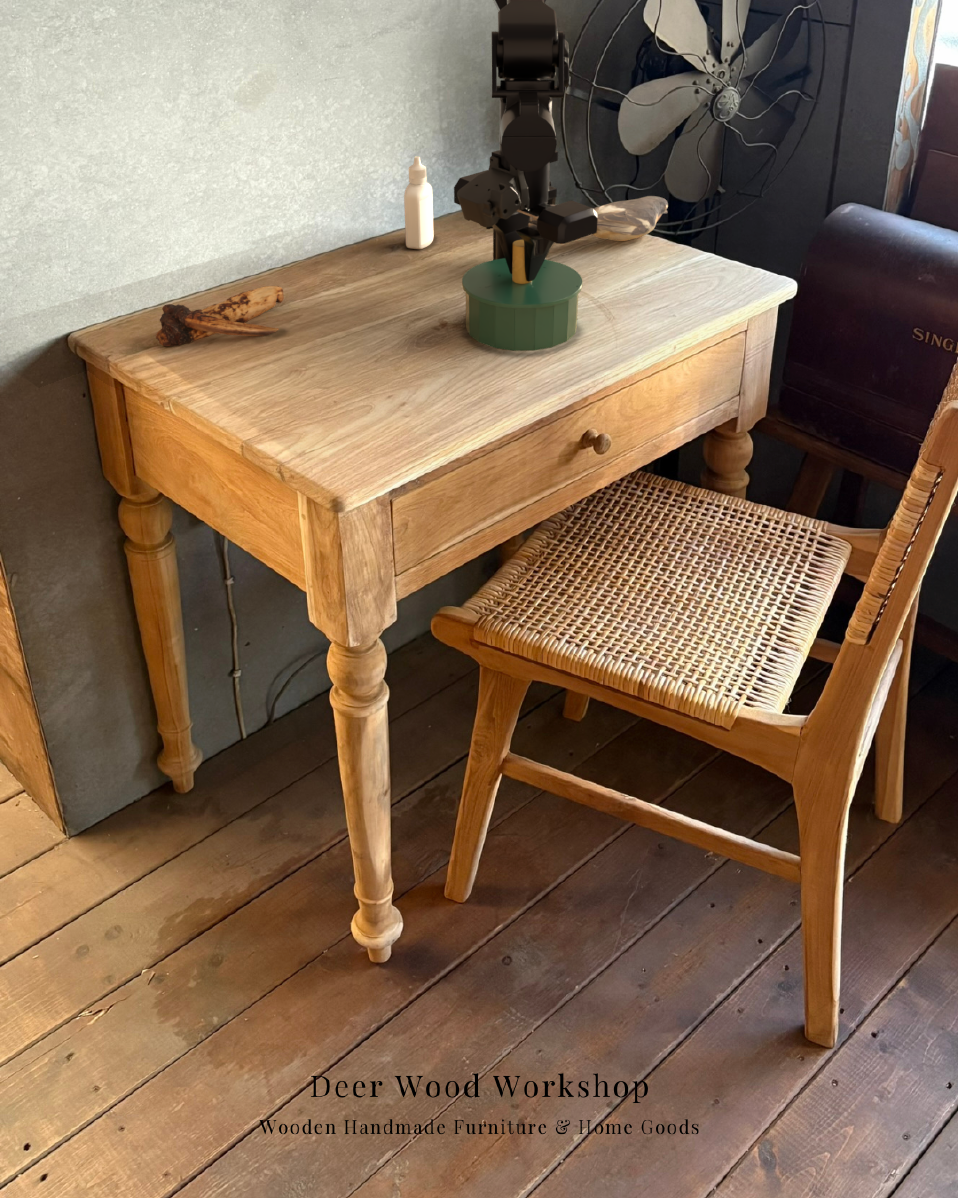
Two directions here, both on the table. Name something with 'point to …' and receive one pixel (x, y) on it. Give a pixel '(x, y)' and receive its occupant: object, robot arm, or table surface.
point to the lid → (521, 282)
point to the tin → (521, 325)
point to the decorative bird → (629, 218)
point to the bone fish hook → (218, 317)
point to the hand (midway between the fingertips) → (522, 276)
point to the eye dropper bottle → (418, 208)
